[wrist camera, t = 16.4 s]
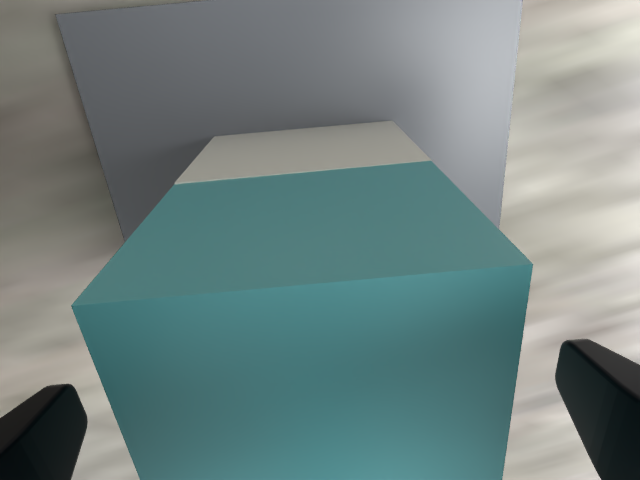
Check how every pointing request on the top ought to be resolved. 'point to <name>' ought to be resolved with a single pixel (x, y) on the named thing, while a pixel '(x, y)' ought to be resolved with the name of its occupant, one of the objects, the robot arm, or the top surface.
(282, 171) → the cream brick
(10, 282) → the top surface
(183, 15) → the baseplate
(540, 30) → the top surface
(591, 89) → the top surface
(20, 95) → the top surface
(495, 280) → the teal brick
